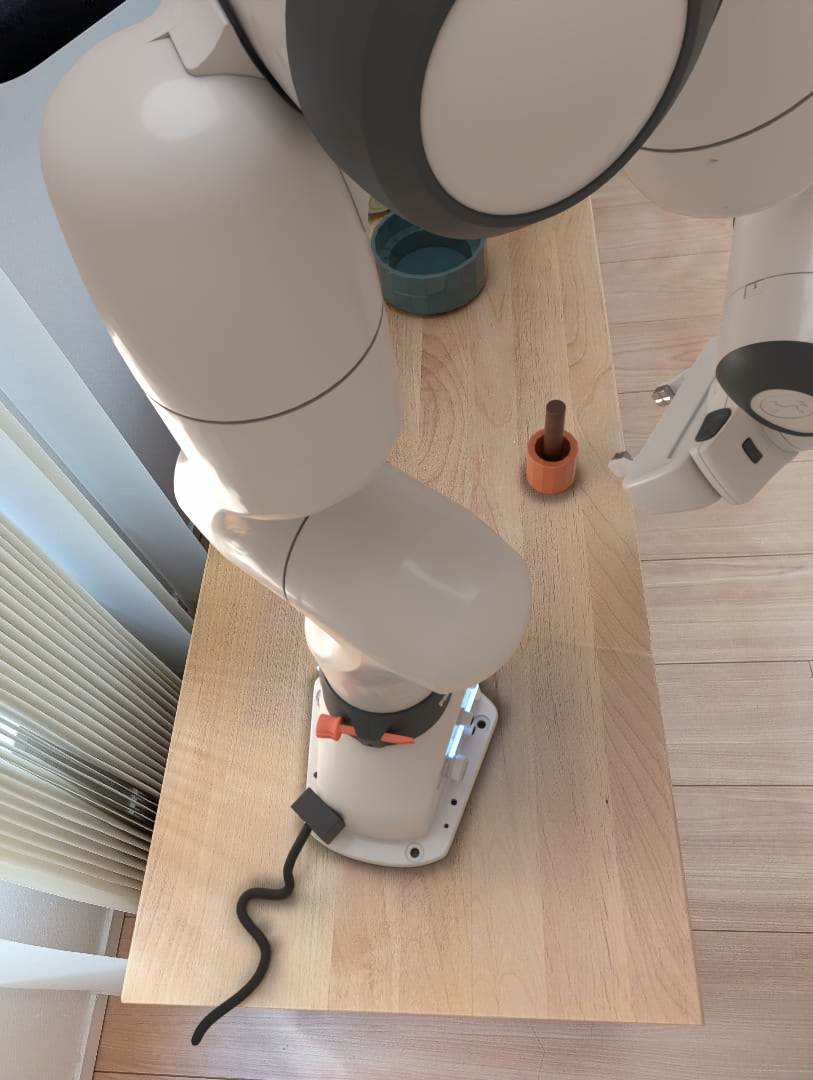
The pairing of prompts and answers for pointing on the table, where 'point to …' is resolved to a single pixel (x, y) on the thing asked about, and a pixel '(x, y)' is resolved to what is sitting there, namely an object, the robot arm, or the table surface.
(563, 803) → the table surface
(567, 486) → the holder
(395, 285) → the bowl
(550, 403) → the stick
